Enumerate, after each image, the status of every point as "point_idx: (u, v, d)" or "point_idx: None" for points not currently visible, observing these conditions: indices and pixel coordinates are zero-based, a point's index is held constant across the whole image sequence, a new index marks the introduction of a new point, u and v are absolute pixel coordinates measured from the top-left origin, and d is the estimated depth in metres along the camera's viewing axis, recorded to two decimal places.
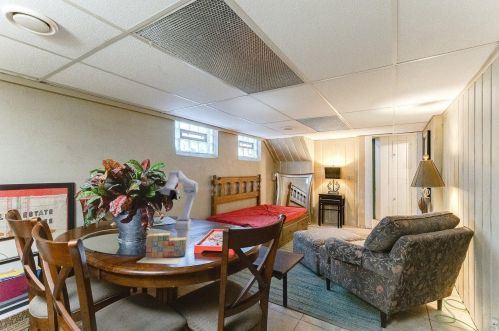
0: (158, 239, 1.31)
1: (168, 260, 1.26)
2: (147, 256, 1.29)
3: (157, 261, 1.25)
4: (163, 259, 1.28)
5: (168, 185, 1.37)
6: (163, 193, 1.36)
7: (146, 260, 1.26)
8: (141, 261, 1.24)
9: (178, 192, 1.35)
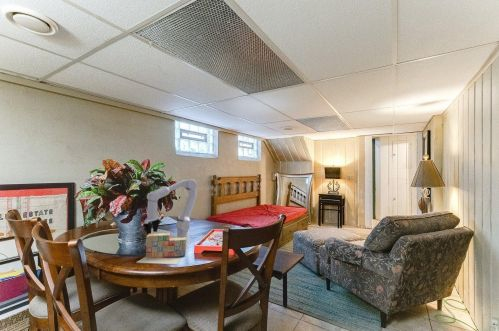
0: (158, 239, 1.31)
1: (168, 260, 1.26)
2: (147, 256, 1.29)
3: (157, 261, 1.25)
4: (163, 259, 1.28)
5: None
6: (154, 220, 1.47)
7: (146, 260, 1.26)
8: (141, 261, 1.24)
9: (146, 222, 1.38)
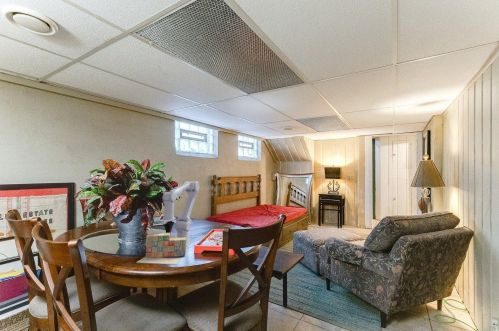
0: (158, 239, 1.31)
1: (168, 260, 1.26)
2: (147, 256, 1.29)
3: (157, 261, 1.25)
4: (163, 259, 1.28)
5: None
6: (170, 221, 1.45)
7: (146, 260, 1.26)
8: (141, 261, 1.24)
9: (163, 223, 1.36)
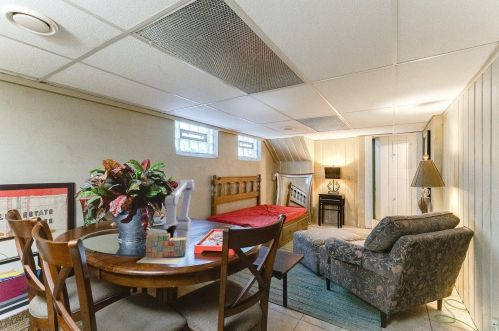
0: (158, 239, 1.31)
1: (168, 260, 1.26)
2: (147, 256, 1.29)
3: (157, 261, 1.25)
4: (163, 259, 1.28)
5: None
6: (173, 225, 1.42)
7: (146, 260, 1.26)
8: (141, 261, 1.24)
9: (165, 228, 1.32)
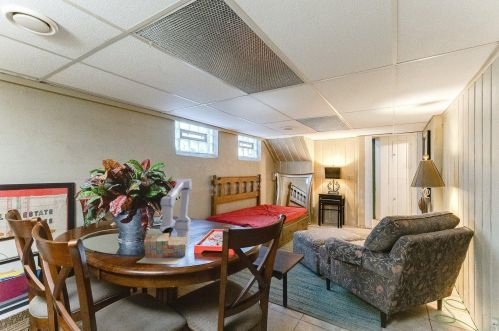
0: (156, 244, 1.26)
1: (168, 260, 1.26)
2: (147, 256, 1.29)
3: (157, 261, 1.25)
4: (163, 259, 1.28)
5: None
6: (169, 227, 1.37)
7: (146, 260, 1.26)
8: (141, 261, 1.24)
9: (161, 230, 1.28)
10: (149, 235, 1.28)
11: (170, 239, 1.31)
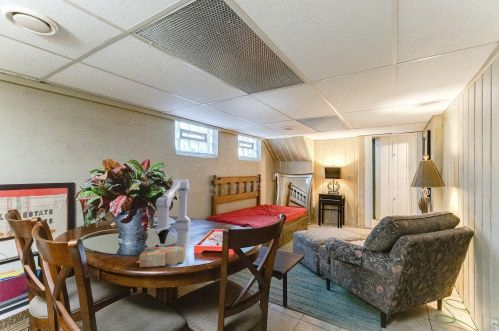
0: None
1: None
2: None
3: None
4: None
5: None
6: (165, 229, 1.32)
7: None
8: None
9: (156, 232, 1.23)
10: (143, 257, 1.17)
11: (167, 255, 1.22)
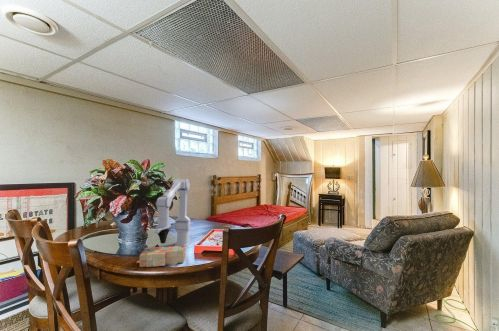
0: None
1: None
2: None
3: None
4: None
5: None
6: (165, 228, 1.32)
7: None
8: None
9: (156, 232, 1.23)
10: (143, 257, 1.17)
11: (167, 255, 1.22)
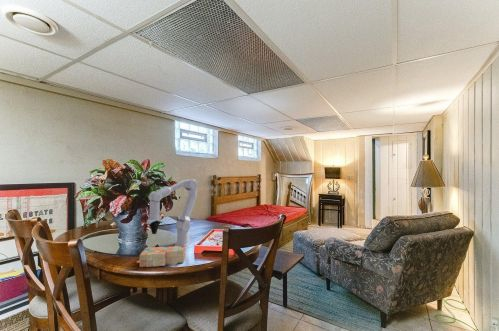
0: None
1: None
2: None
3: None
4: None
5: None
6: (156, 221, 1.46)
7: None
8: None
9: (148, 223, 1.37)
10: (143, 257, 1.17)
11: (167, 255, 1.22)
